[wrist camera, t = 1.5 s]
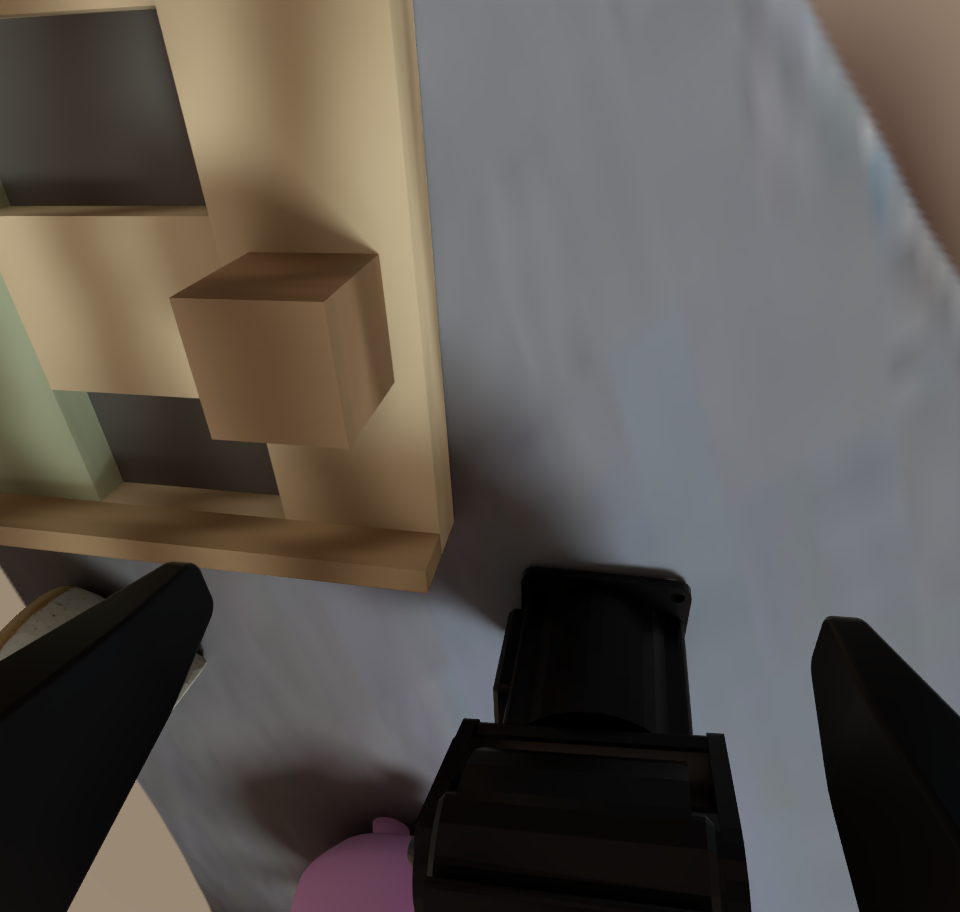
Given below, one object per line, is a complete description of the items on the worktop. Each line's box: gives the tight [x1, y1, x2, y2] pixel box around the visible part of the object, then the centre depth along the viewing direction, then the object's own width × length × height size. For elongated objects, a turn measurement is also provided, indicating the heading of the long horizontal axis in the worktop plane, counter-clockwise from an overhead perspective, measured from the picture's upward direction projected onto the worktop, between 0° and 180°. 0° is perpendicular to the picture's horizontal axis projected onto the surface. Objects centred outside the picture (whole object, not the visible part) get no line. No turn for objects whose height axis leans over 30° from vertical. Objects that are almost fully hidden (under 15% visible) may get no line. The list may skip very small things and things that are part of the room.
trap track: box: [0, 0, 454, 593], centre depth 21 cm, size 20×18×4 cm
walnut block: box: [169, 252, 395, 449], centre depth 18 cm, size 4×4×4 cm
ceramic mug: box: [0, 585, 207, 709], centre depth 32 cm, size 11×8×8 cm
